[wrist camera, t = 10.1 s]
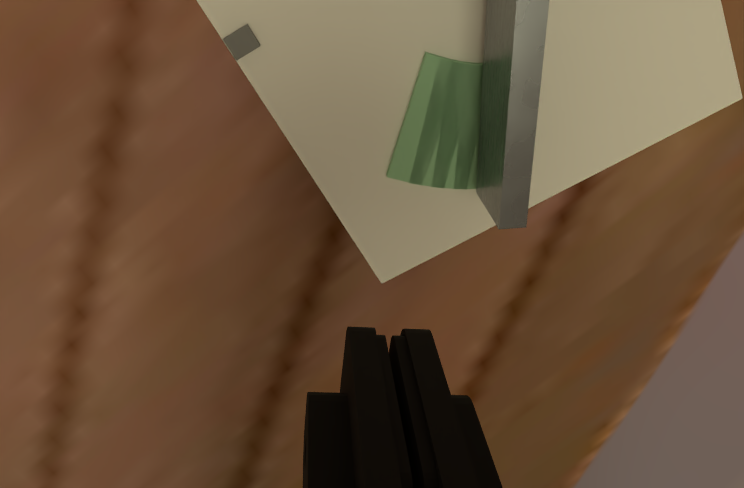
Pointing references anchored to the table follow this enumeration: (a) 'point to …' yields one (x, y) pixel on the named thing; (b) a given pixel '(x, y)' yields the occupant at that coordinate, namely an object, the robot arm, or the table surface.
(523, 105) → the grey rectangular bar
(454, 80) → the dial board
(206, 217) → the table surface
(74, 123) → the table surface
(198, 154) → the table surface
